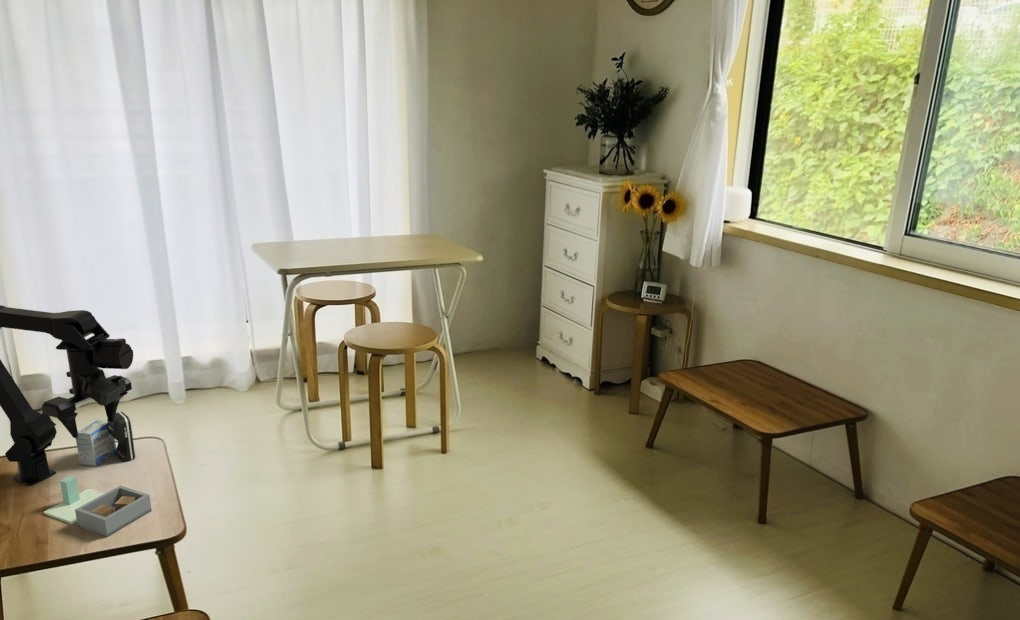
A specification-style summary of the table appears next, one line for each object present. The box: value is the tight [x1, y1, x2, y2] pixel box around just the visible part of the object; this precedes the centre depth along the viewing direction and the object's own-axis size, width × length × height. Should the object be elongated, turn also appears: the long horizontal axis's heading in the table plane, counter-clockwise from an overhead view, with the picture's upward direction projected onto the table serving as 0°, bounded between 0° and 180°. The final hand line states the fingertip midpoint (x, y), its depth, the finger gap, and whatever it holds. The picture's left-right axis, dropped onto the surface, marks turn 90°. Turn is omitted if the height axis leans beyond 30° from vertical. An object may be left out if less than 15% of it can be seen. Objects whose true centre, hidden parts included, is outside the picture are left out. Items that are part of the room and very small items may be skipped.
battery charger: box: [106, 411, 136, 462], centre depth 185 cm, size 7×4×11 cm, turn 45°
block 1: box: [90, 505, 114, 517], centre depth 158 cm, size 3×3×3 cm
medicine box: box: [75, 419, 117, 467], centre depth 184 cm, size 8×4×9 cm, turn 170°
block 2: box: [115, 496, 136, 511], centre depth 161 cm, size 3×3×3 cm
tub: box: [75, 485, 153, 538], centre depth 160 cm, size 9×11×4 cm
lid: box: [43, 475, 105, 525], centre depth 164 cm, size 9×11×6 cm
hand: (93, 429), depth 172 cm, fingers open, 9 cm apart
